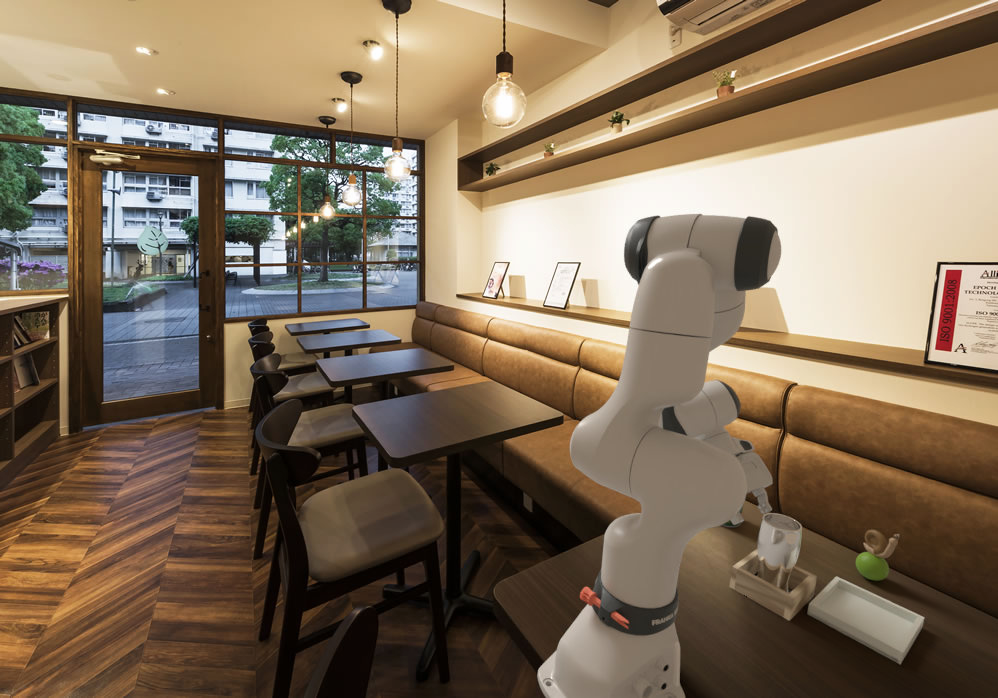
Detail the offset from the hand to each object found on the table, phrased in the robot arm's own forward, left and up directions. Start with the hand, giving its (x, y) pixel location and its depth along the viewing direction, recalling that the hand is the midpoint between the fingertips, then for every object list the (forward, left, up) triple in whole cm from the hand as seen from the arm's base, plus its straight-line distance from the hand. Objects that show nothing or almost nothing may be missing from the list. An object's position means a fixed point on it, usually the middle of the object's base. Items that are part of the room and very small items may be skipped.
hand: (753, 517), depth 95 cm
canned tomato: (+18, +14, -13) cm, 27 cm away
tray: (+5, -19, -13) cm, 23 cm away
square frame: (-1, -5, -13) cm, 14 cm away
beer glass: (-1, -5, -13) cm, 14 cm away
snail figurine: (+21, -16, -13) cm, 30 cm away
